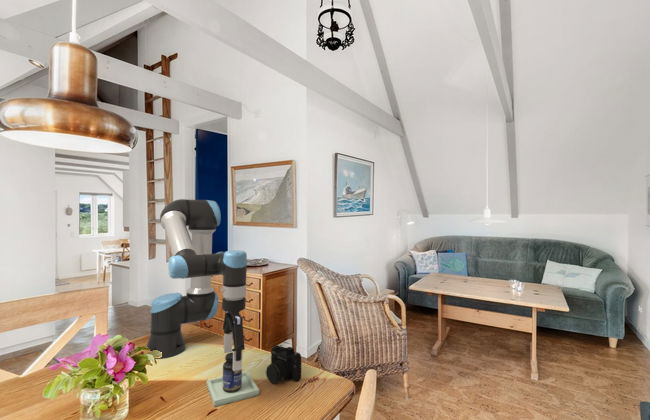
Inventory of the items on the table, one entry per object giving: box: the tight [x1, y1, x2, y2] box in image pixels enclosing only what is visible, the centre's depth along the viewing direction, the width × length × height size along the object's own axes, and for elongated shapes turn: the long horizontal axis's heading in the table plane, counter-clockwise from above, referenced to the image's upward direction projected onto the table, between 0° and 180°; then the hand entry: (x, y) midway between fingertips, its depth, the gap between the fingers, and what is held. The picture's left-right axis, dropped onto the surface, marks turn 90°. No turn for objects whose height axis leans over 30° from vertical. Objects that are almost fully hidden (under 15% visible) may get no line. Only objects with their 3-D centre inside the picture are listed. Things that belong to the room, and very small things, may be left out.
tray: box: [206, 370, 260, 408], centre depth 108 cm, size 14×14×2 cm
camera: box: [265, 344, 302, 384], centre depth 117 cm, size 14×11×10 cm
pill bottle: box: [222, 351, 243, 393], centre depth 108 cm, size 6×6×11 cm
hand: (232, 360), depth 108 cm, fingers open, 13 cm apart
